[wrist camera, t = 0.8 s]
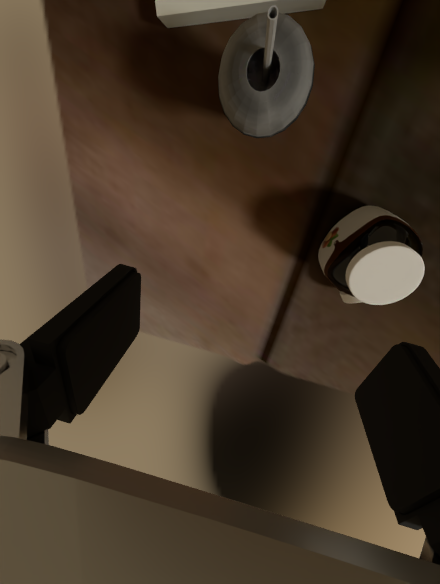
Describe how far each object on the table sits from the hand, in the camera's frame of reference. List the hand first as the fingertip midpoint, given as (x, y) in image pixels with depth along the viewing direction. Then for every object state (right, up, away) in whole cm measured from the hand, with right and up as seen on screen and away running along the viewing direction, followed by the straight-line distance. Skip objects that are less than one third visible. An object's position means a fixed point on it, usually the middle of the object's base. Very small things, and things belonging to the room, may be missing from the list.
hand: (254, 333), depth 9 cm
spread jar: (+19, +8, +27) cm, 33 cm away
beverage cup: (+4, +24, +19) cm, 31 cm away
